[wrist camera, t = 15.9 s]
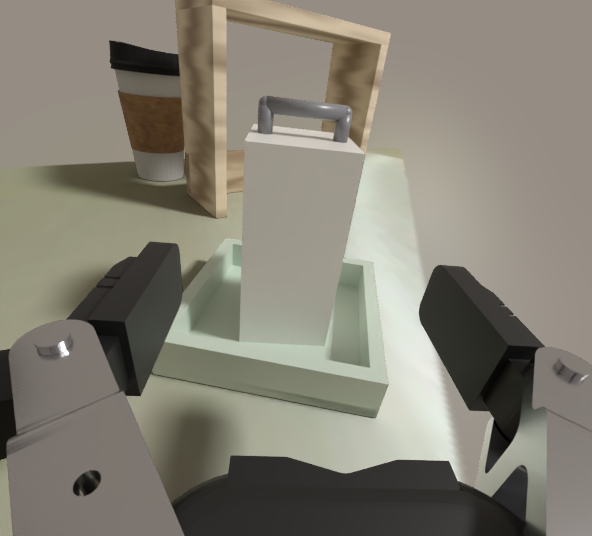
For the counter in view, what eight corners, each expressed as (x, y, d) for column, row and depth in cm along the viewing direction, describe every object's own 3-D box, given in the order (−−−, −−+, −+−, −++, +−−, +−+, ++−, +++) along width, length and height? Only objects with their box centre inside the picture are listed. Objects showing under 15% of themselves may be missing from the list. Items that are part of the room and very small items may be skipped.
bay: (356, 196, 47) (390, 33, 37) (216, 218, 35) (212, -16, 25) (319, 179, 52) (341, 33, 42) (187, 193, 40) (174, -6, 30)
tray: (152, 373, 17) (146, 338, 16) (226, 264, 27) (226, 237, 25) (375, 418, 16) (388, 384, 15) (366, 289, 26) (373, 262, 25)
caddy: (324, 346, 19) (374, 113, 13) (239, 341, 19) (245, 97, 12) (317, 296, 23) (351, 102, 17) (247, 291, 23) (255, 90, 16)
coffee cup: (126, 167, 47) (106, 40, 39) (187, 166, 50) (180, 51, 42) (128, 185, 40) (105, 39, 33) (198, 183, 44) (192, 51, 36)
